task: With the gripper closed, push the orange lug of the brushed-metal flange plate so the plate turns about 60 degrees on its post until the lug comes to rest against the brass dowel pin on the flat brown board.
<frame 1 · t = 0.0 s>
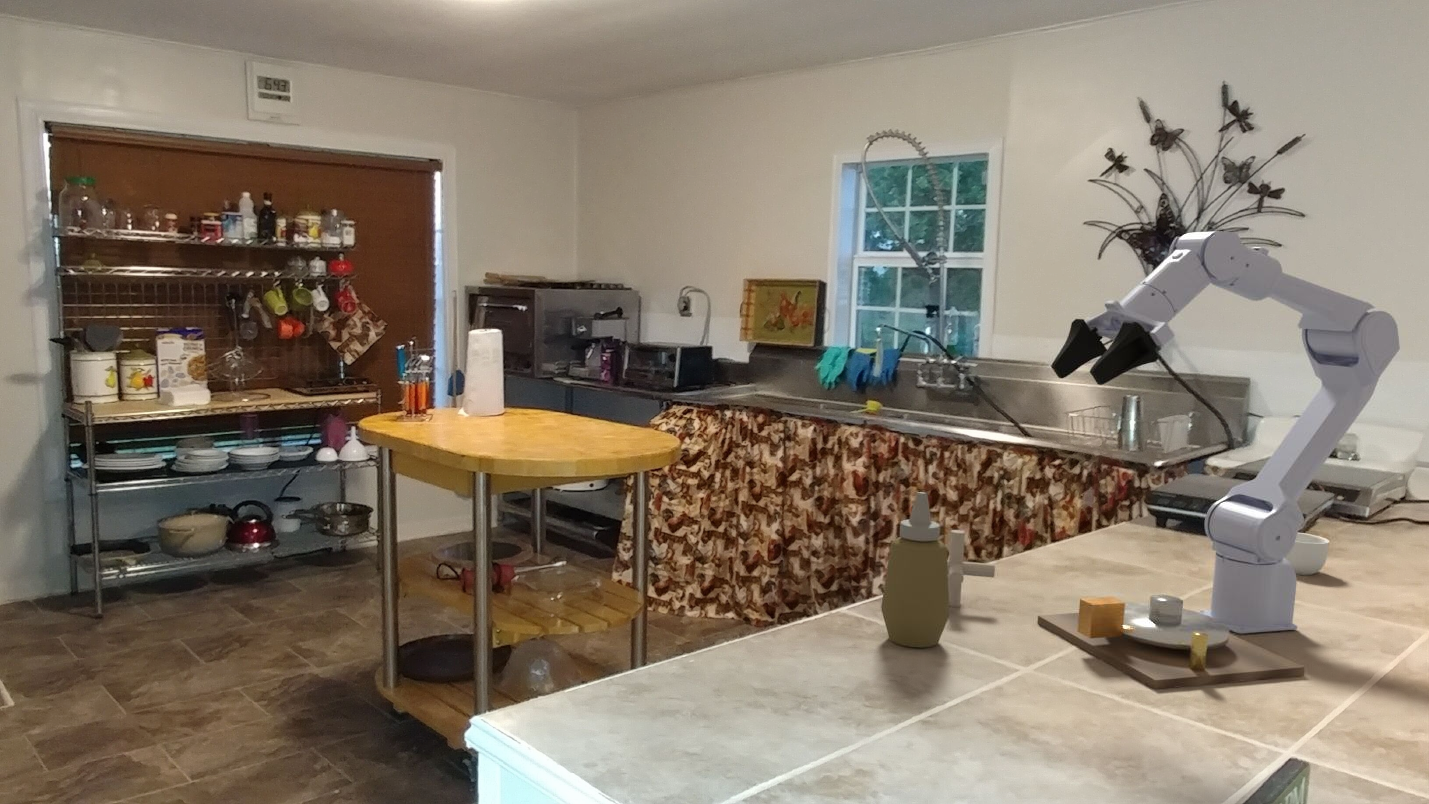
hand: (1075, 375, 124), 32 cm above the table, tool tilted 50°, fingers open, 7 cm apart
squeeze bottle: (913, 642, 125), on the table
teacup: (1289, 570, 164), on the table
pipe connector: (953, 605, 140), on the table
flat brown board: (1162, 647, 125), on the table
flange: (1150, 614, 124), point 4 cm above the table, hinge at 0.0°
dowel: (1196, 677, 116), resting on flat brown board
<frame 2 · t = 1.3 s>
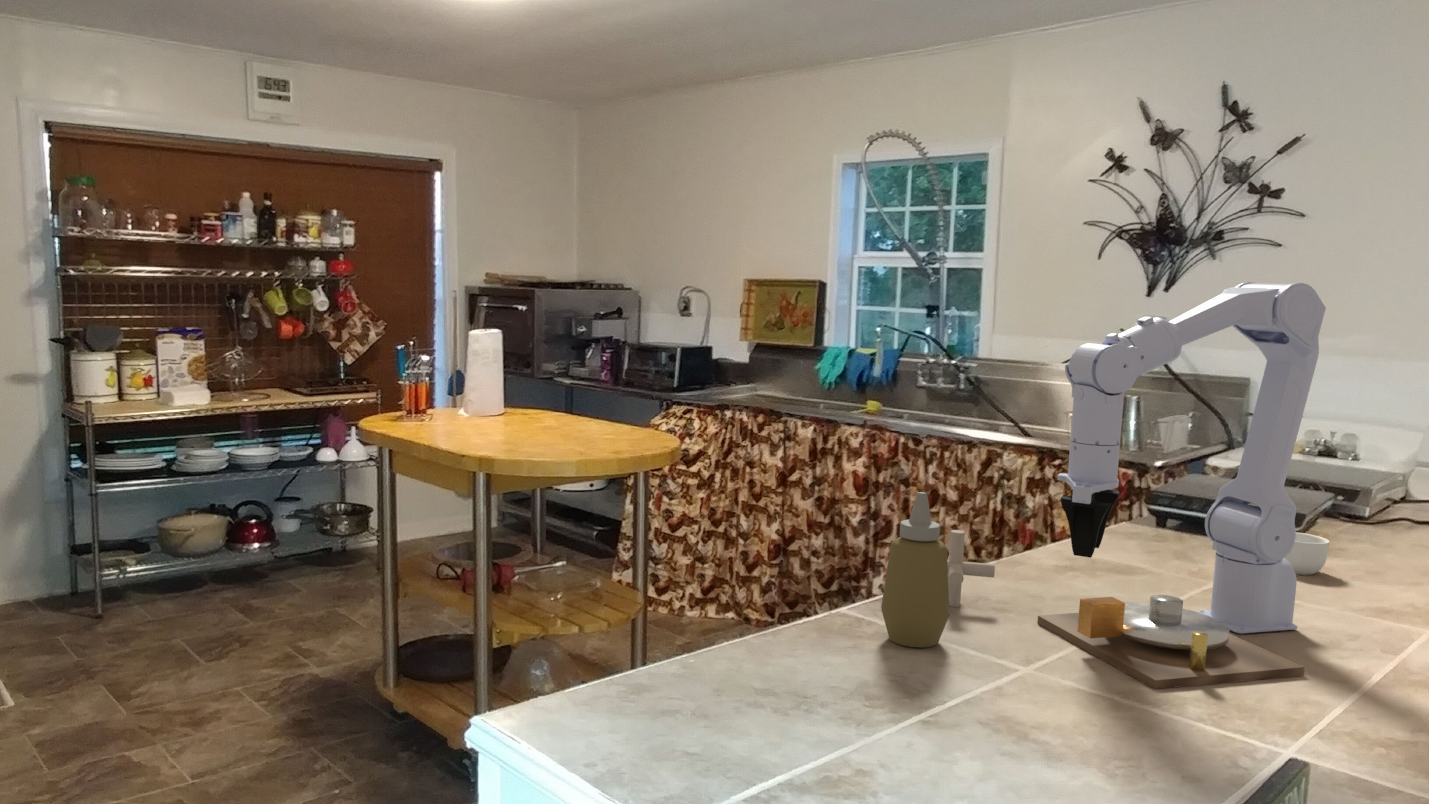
hand: (1086, 551, 129), 10 cm above the table, tool pointing down, fingers open, 5 cm apart
nothing on the table moved.
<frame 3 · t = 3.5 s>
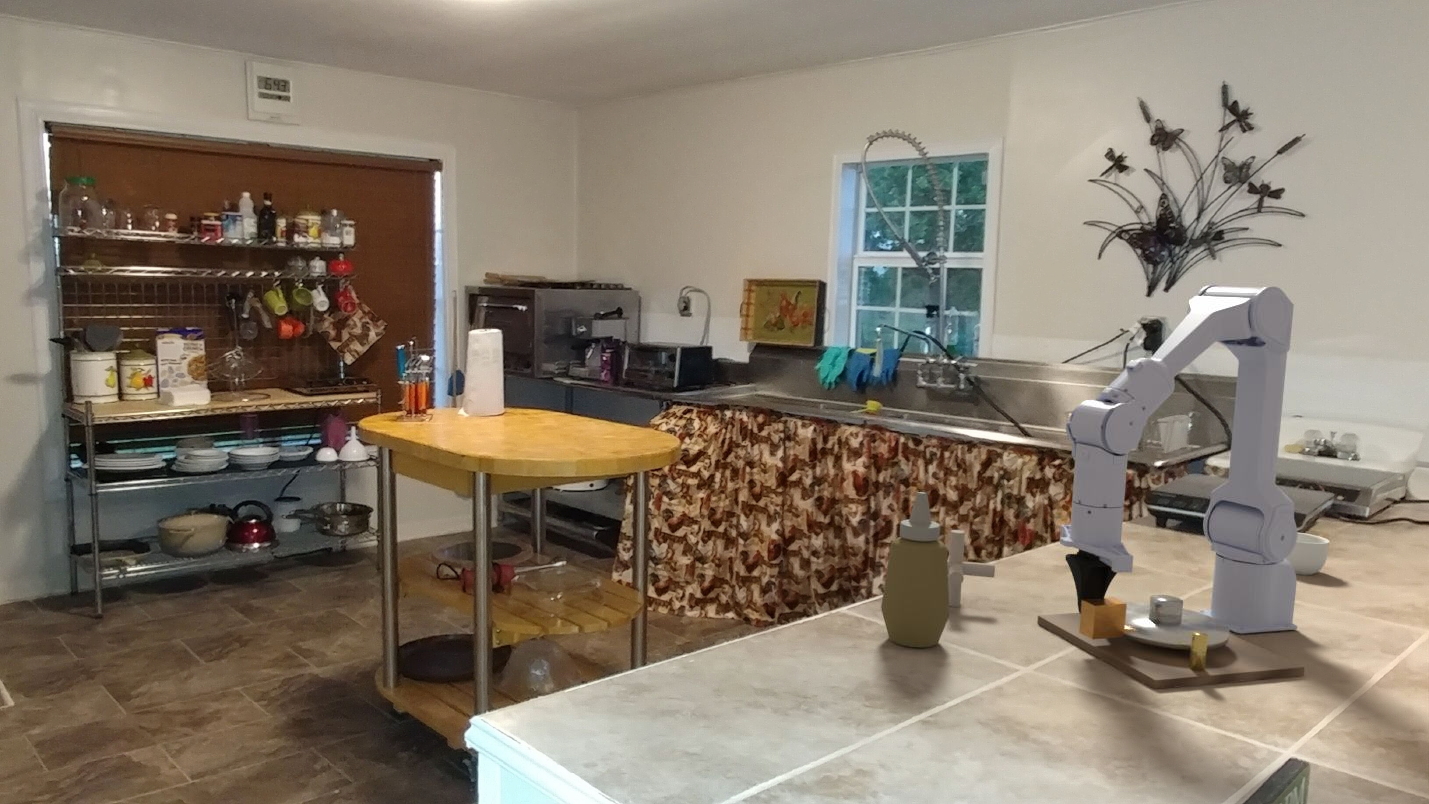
hand: (1089, 614, 124), 4 cm above the table, tool pointing down, fingers closed
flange: (1151, 614, 124), point 4 cm above the table, hinge at 1.9°, touching gripper
everything else where it was.
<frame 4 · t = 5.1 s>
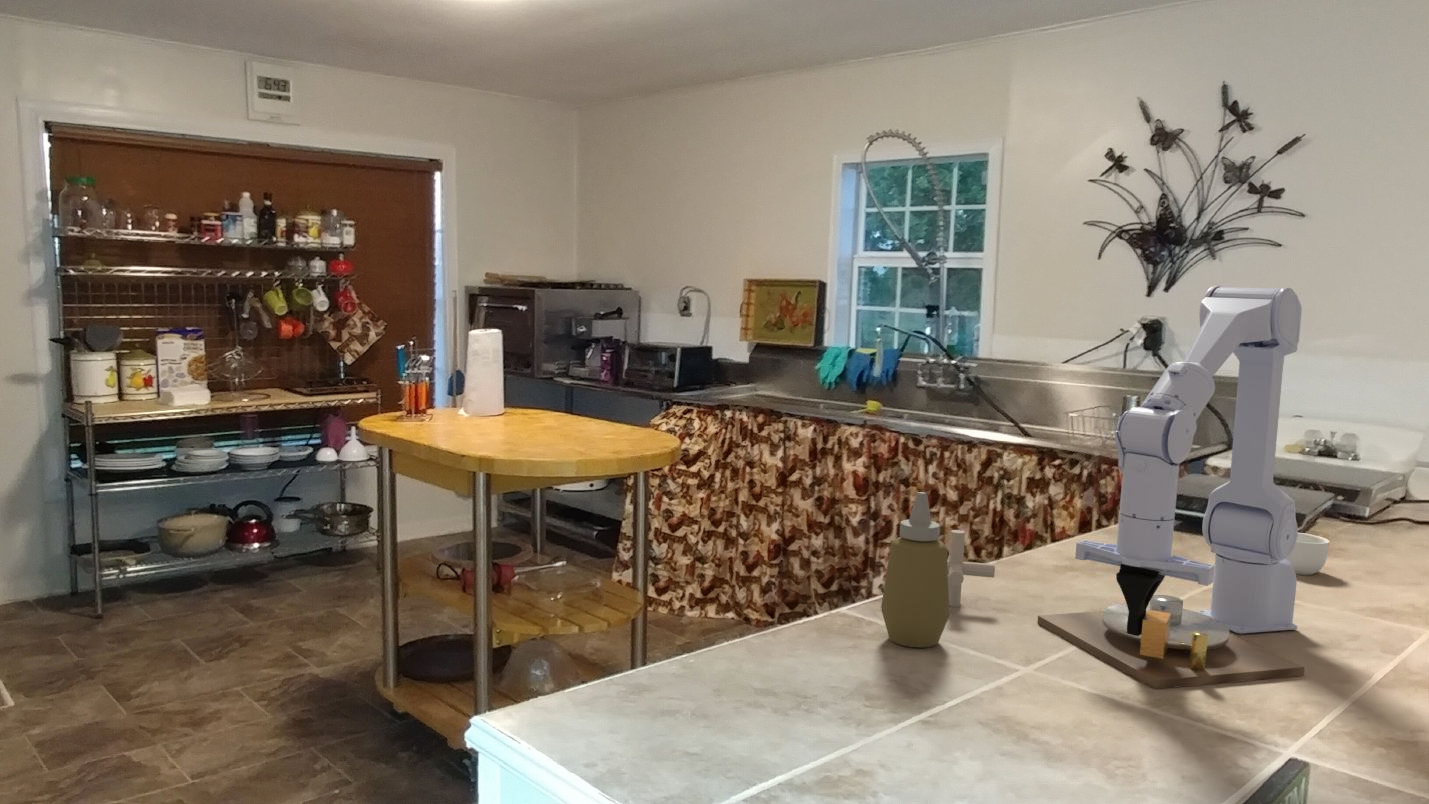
hand: (1136, 633, 118), 4 cm above the table, tool pointing down, fingers closed, pressing on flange
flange: (1163, 617, 123), point 4 cm above the table, hinge at 44.1°, touching gripper
everything else where it was.
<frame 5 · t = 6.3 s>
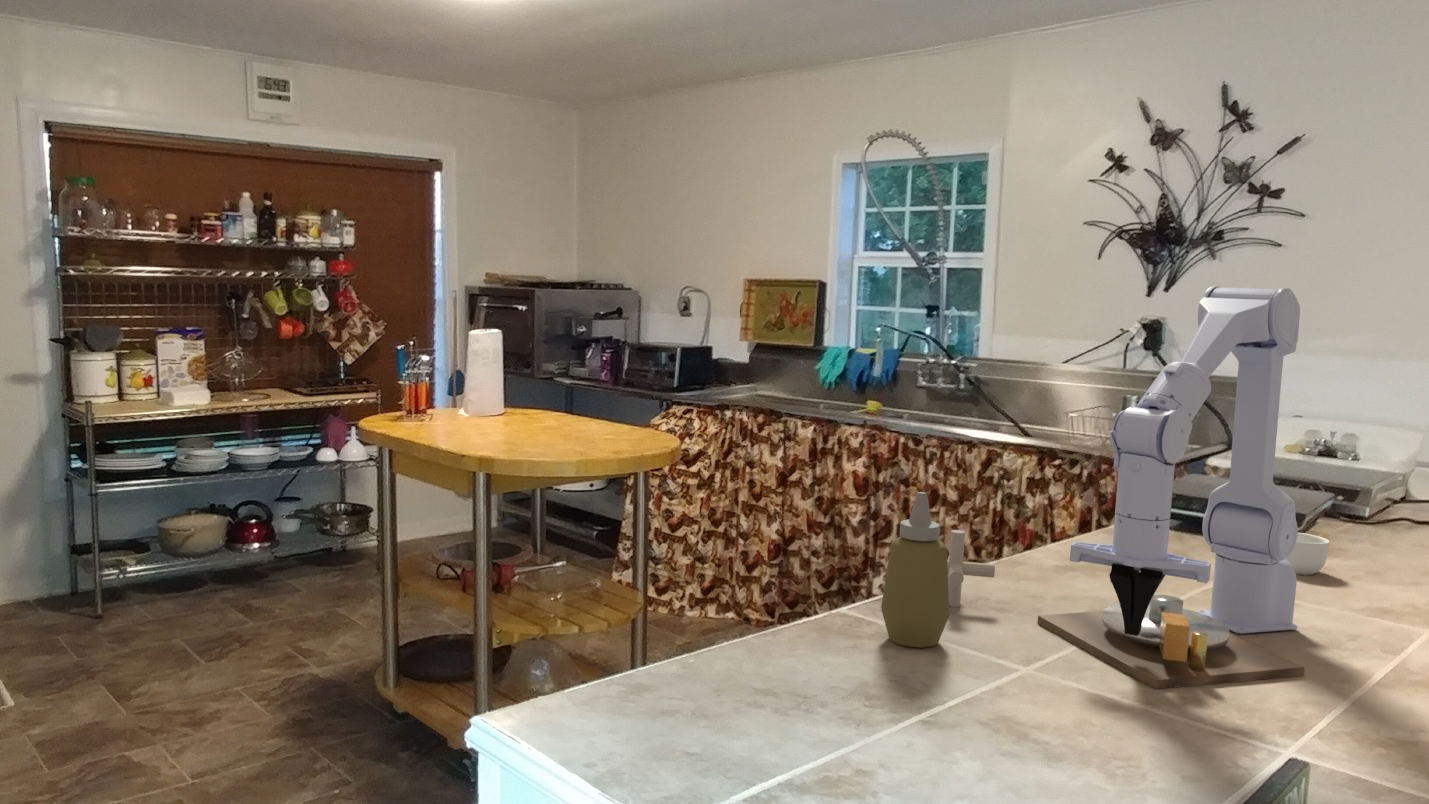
hand: (1132, 632, 118), 4 cm above the table, tool pointing down, fingers closed
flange: (1167, 618, 123), point 4 cm above the table, hinge at 56.1°
everything else where it was.
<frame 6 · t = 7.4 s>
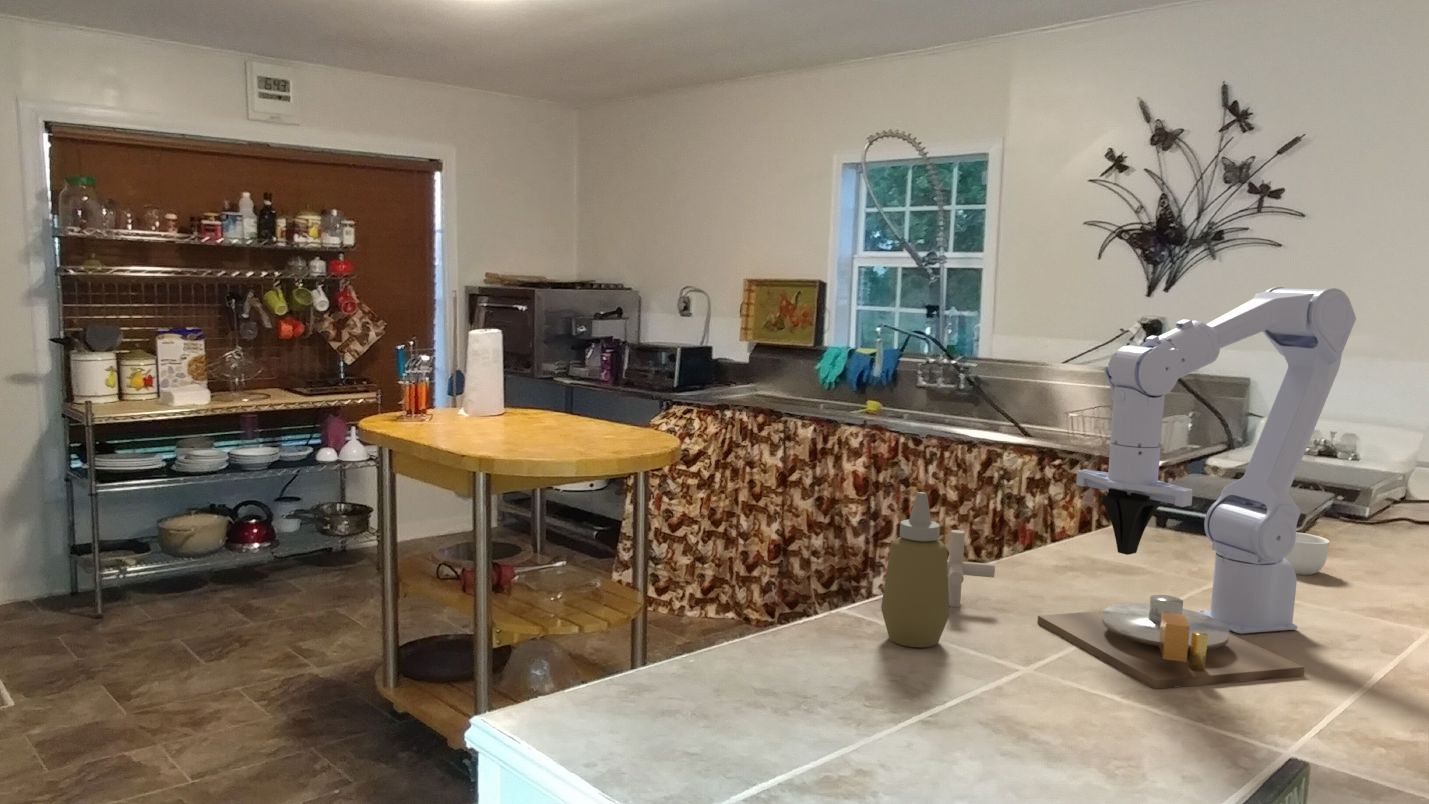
hand: (1127, 552, 129), 10 cm above the table, tool pointing down, fingers closed
nothing on the table moved.
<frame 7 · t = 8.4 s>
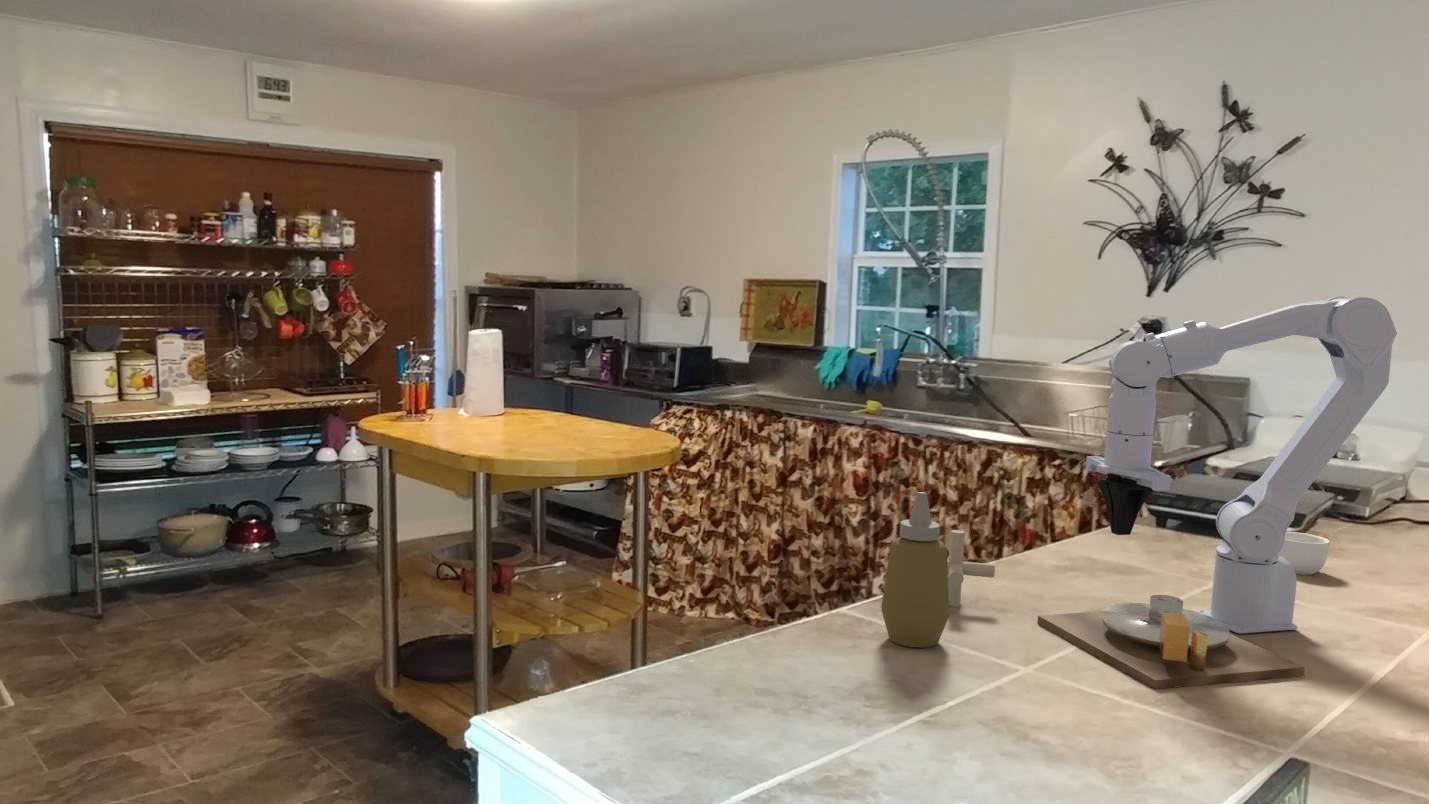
hand: (1120, 533, 139), 10 cm above the table, tool pointing down, fingers closed
nothing on the table moved.
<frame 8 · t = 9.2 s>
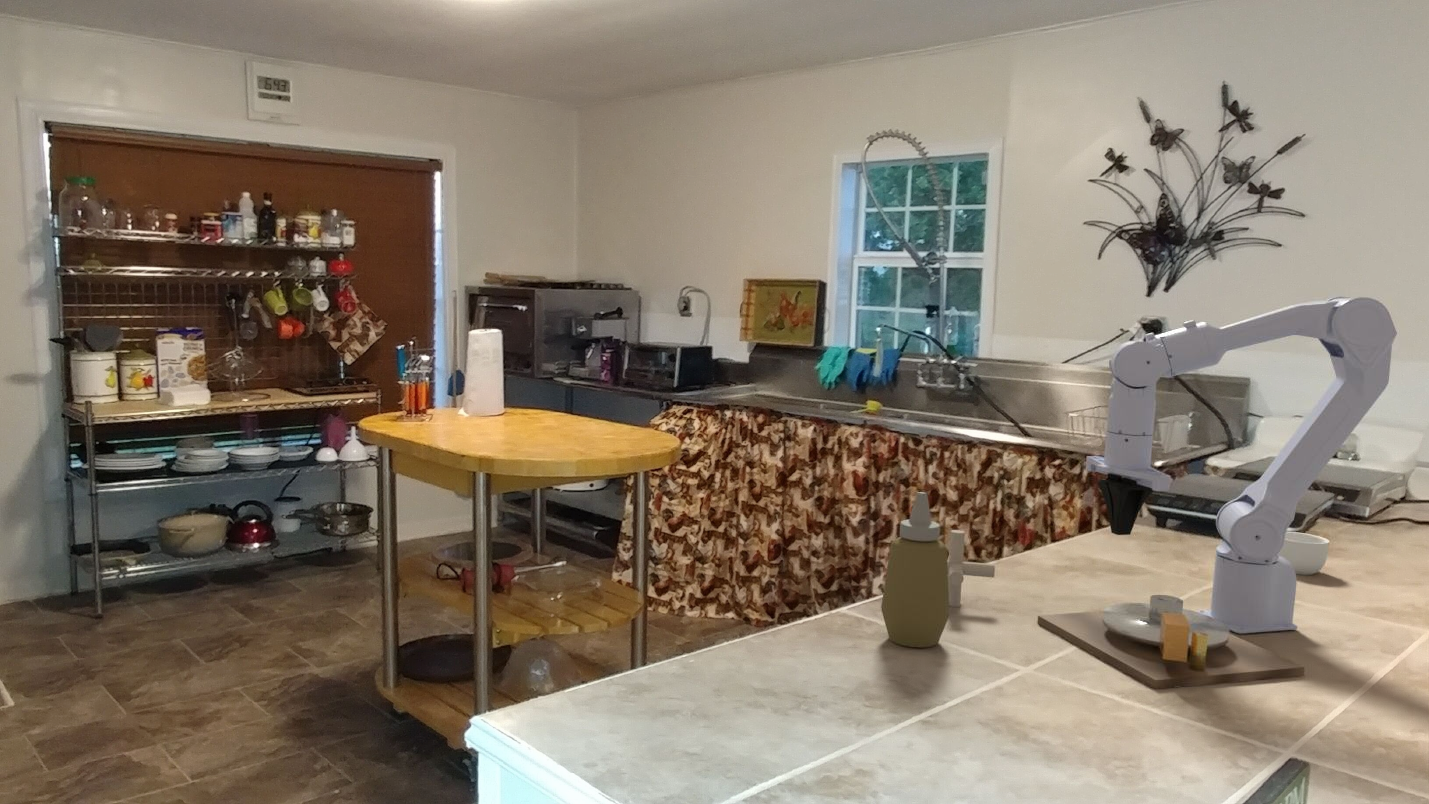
hand: (1120, 533, 139), 10 cm above the table, tool pointing down, fingers closed
nothing on the table moved.
at the end: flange at +56° (first picture: +0°) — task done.
